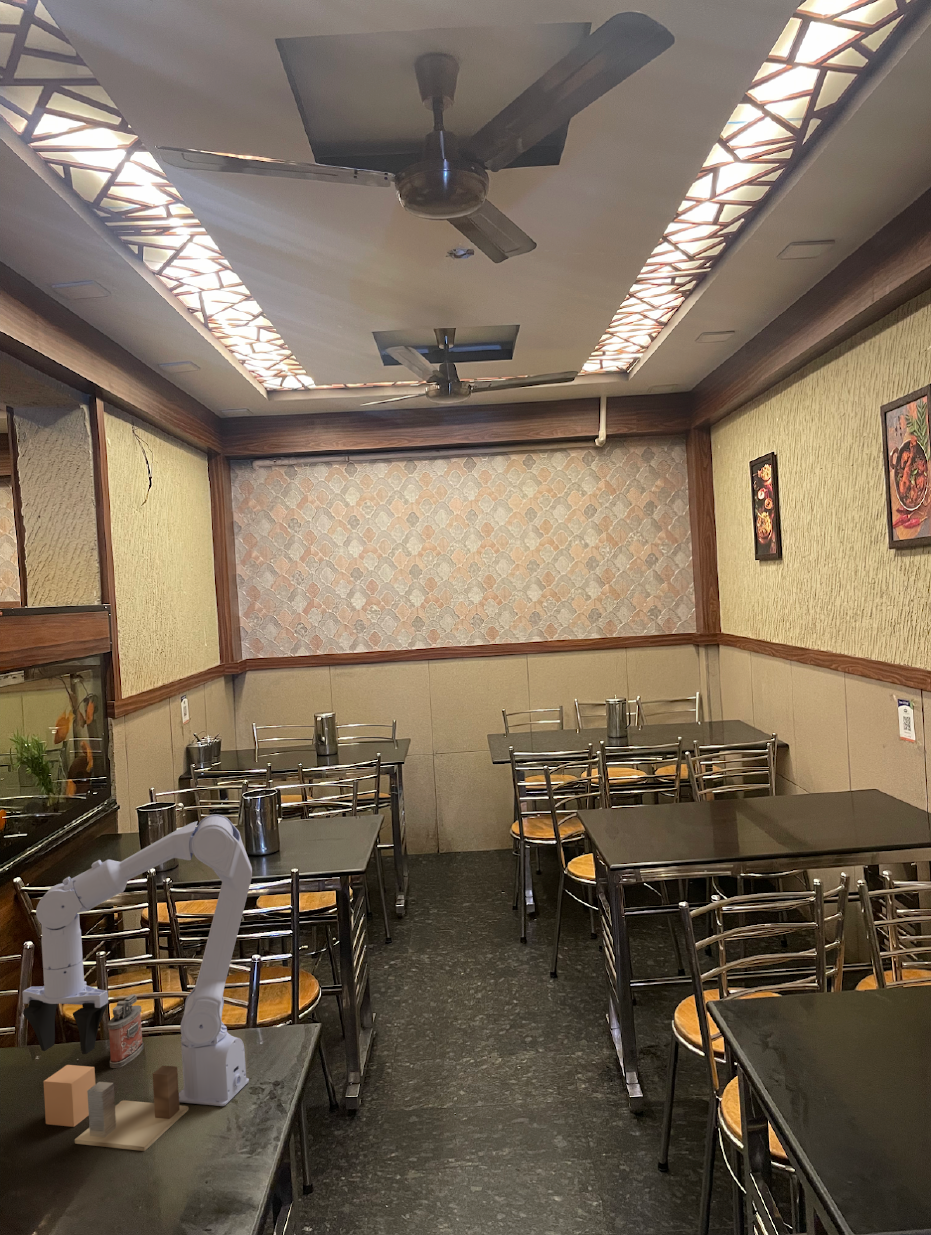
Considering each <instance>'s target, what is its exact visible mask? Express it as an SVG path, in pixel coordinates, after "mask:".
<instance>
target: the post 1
mask: <svg viewBox="0 0 931 1235" xmlns="http://www.w3.org/2000/svg"><path fill="white" fill-rule="evenodd" d="M87 1092H88V1110H89V1115H88V1125H89V1127H88V1128H90V1136H96V1137H106V1136H107V1135H108V1134H109V1133H110V1132H112V1131H113V1130H114V1129H115V1128H116V1116H115V1106H116V1100H115V1099H116V1098H115V1084H114V1082H106V1081H98V1082H97V1083H95V1085H94V1086H93V1087H91V1088H90V1089H89V1090H88V1091H87Z"/></svg>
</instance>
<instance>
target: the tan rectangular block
mask: <svg viewBox="0 0 931 1235" xmlns="http://www.w3.org/2000/svg"><path fill="white" fill-rule="evenodd" d="M95 1070H96V1069H95V1066H87V1065H74V1064H66V1065H64V1066H63V1067H62V1068H60V1069H59V1070H58V1071H56V1072H54V1073H53V1074H52V1075H51V1076H48V1077H47V1078H46V1079H45V1080H43V1097H44V1112H45V1113H44V1114H45V1115H44V1116H45V1124H46V1125H51V1126H62V1127H63V1126H64V1127H71V1128H72V1127H73V1128H75V1127H76V1126H77V1125H79V1124H80V1123H81V1122H83V1120H85V1119H86V1118H87V1117H89V1110H88V1092H87V1091H88V1090H89V1089H90V1088H91V1087H93V1086H94V1085H95V1084H96V1073H95Z"/></svg>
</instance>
